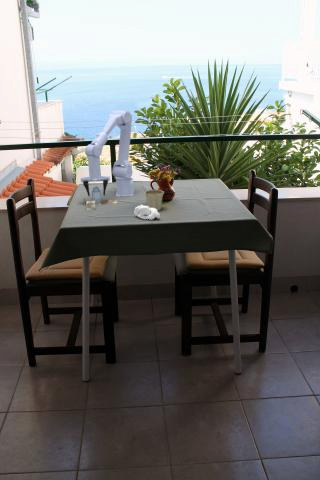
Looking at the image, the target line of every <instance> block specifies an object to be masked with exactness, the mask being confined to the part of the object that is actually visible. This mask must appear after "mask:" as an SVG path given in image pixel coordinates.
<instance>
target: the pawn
mask: <svg viewBox="0 0 320 480" xmlns="http://www.w3.org/2000/svg"><path fill="white" fill-rule="evenodd" d="M101 192H102V191H101V190H100V188H99V187H98V186H93V188H92V191H91V201H95V205H101V204H100V203H101V201H102V193H101Z"/></svg>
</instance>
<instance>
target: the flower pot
mask: <svg viewBox="0 0 320 480" xmlns="http://www.w3.org/2000/svg"><path fill="white" fill-rule="evenodd" d="M144 194H145V195H144V196H145V198H146V203H147V205H146V206H148V207H149V208H155V209H157V211H158V212H159V211H161V209H162V202H163V196H164V194H165V191H163V190H160V189H149V190H145V191H144Z"/></svg>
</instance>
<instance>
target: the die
mask: <svg viewBox="0 0 320 480" xmlns="http://www.w3.org/2000/svg"><path fill="white" fill-rule="evenodd" d="M85 202H86V205H85V206H86V211H96V204H95V201H92V200H86V201H85Z"/></svg>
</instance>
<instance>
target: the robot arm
mask: <svg viewBox="0 0 320 480" xmlns="http://www.w3.org/2000/svg"><path fill="white" fill-rule="evenodd" d="M132 120H133V114H131V112H130V111H129V110H117V109H113V110H112V111H111V112H110V114H108V120H107V122H106V123H105V125H104V126H103V129H102V130H101V132H97V133H96V135H95V137H94V138H93V140H92V141H90V142H91V143H90V144H88V145H86V147H85V149H84V154H85V155H86V159H87V162H88V175H89V176H87V177H80V183H82V185H83V187H84V188H85V191H86V192H87V196H88V197H90V195H91V193H90V187H89V186H90V185H89V183H91V182H102V185H103V186H102V187H103V189H102V191H103V193H102V194H103V196H106V190H107V186H108V183H109V182H110V181H111V176H108V175H107V176H103V175H102V173H101V159H100V156H101V155H102V153H103V149H104V146H105V145H106V143H107V142H108V139H109V138H108V136H109V135H110V133H111V132H112V131H113V130H114V128H115V127H116V126H117V127H118V128H119V129H120V133H119V141H118V142H119V144H118V145H119V146H118V155H117V157H118V158H117V160H116V161H115V162H114V163H113V167H112V172H111V173H112V176H114V179H115V182H116V183H115V186H116V189H115V190H116V192H115V197H126V196H127V197H130V196H135V187H134V184H135V183H134V178H133V177H132V176H133V165H132V163H131V162H130V161H129V158H130V157H129V155H130V146H131V137H132Z"/></svg>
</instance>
